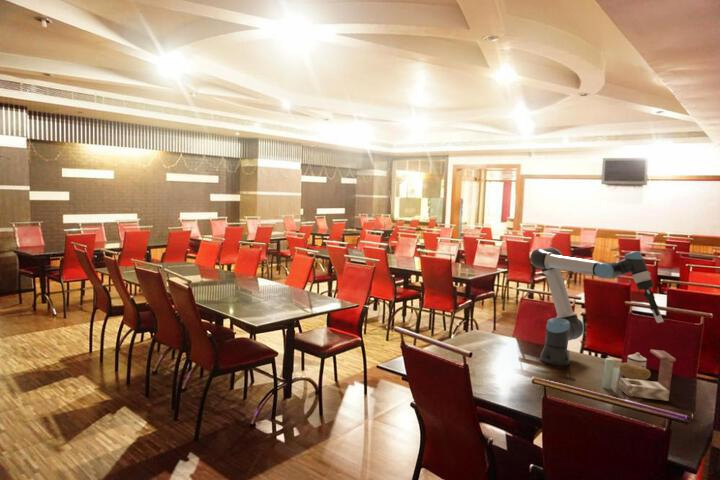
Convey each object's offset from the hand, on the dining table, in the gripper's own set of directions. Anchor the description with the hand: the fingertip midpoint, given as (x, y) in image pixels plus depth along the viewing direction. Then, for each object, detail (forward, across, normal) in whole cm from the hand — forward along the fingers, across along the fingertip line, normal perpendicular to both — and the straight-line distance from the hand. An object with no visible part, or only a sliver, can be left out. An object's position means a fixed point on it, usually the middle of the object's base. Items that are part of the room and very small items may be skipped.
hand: (660, 322), depth 237 cm
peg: (+23, -16, +32) cm, 43 cm away
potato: (+25, +5, +21) cm, 33 cm away
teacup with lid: (+24, +17, +19) cm, 35 cm away
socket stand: (+29, -14, +18) cm, 37 cm away
